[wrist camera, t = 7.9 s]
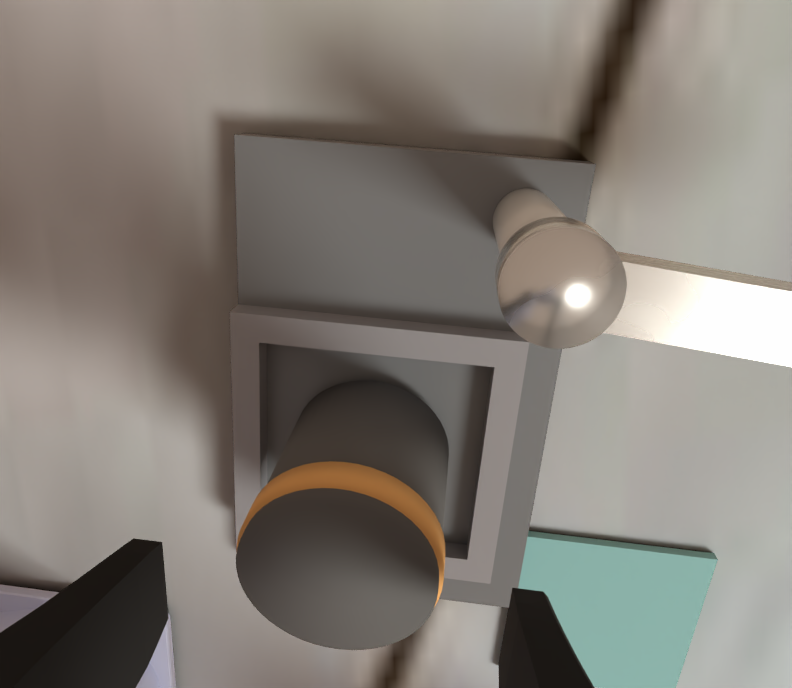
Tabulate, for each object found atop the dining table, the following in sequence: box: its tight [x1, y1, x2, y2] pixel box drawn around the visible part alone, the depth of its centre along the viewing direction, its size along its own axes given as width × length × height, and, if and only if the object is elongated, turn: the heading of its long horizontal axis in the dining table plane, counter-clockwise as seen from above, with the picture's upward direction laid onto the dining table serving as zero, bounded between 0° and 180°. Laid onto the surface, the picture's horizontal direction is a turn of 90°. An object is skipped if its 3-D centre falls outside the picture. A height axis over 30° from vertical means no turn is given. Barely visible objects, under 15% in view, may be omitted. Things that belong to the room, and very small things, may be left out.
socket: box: [230, 133, 596, 608], centre depth 16 cm, size 9×14×6 cm, turn 176°
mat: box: [518, 531, 718, 688], centre depth 21 cm, size 6×6×1 cm
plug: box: [236, 380, 449, 650], centre depth 16 cm, size 5×5×5 cm
